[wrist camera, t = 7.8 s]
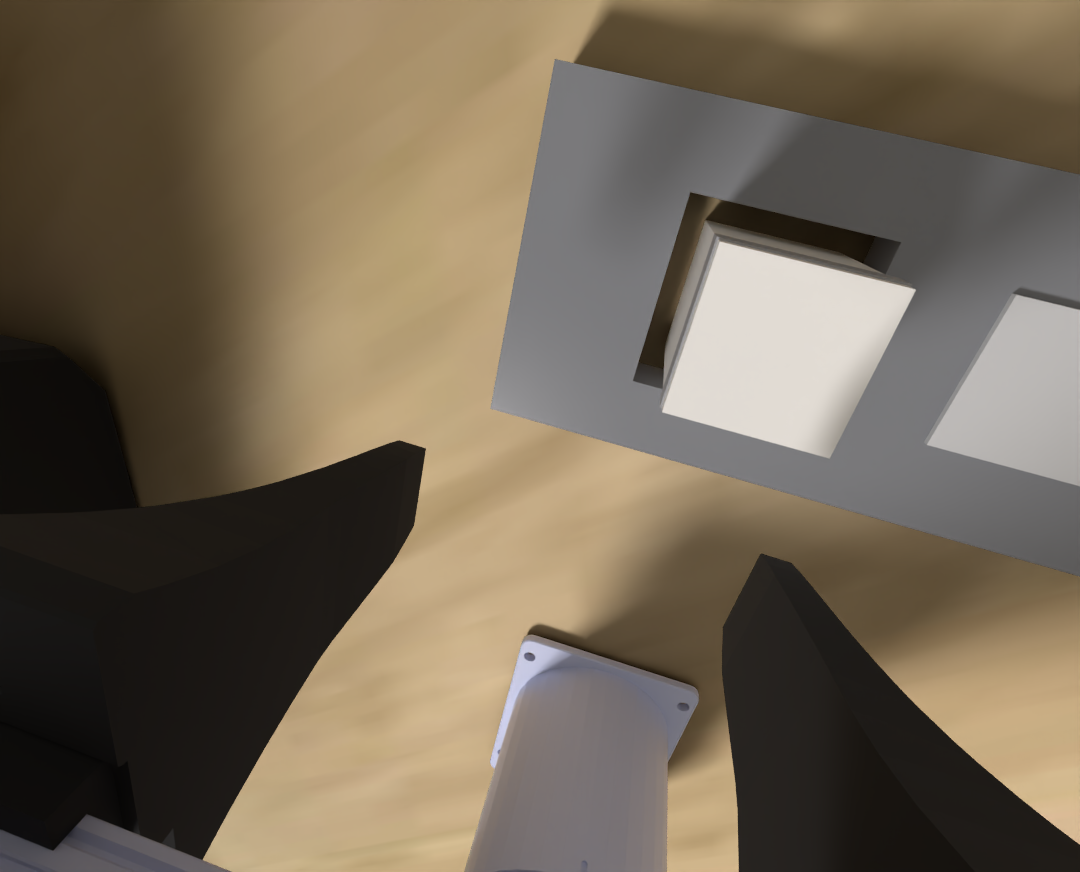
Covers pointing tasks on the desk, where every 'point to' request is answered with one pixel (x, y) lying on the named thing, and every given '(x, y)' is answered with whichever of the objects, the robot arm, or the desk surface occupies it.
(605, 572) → the desk surface
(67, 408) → the black hard case
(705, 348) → the block
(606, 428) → the grey slab
